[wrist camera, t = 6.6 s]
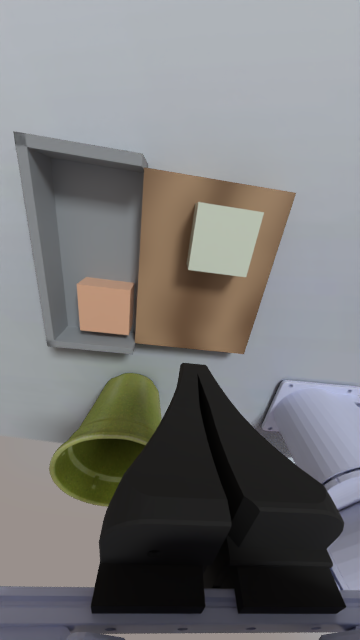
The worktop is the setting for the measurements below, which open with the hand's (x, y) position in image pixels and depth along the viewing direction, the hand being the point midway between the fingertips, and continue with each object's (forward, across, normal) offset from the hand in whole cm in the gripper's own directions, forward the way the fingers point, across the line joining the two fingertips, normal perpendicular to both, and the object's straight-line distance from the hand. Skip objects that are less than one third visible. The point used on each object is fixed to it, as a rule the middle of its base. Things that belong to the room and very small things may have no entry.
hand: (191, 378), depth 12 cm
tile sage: (+7, -1, -6) cm, 10 cm away
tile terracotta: (+9, +7, 0) cm, 11 cm away
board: (+9, -1, -4) cm, 10 cm away
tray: (+9, +8, -4) cm, 13 cm away
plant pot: (+10, +4, +11) cm, 15 cm away
